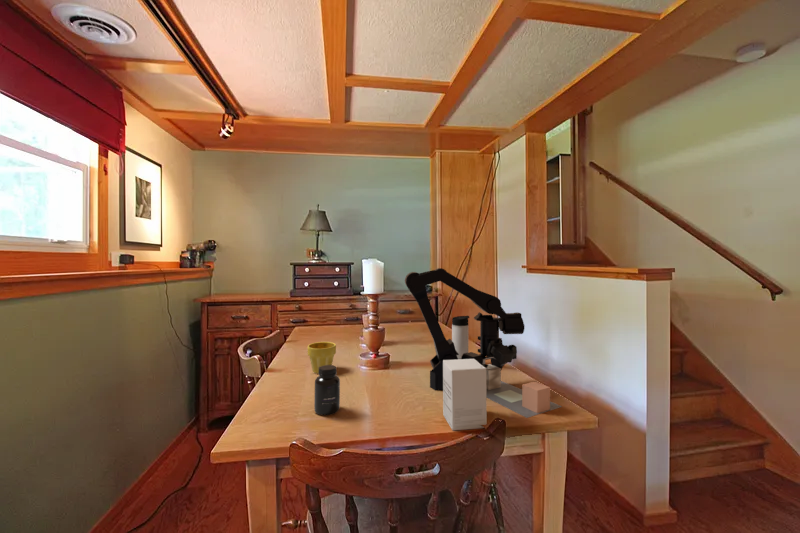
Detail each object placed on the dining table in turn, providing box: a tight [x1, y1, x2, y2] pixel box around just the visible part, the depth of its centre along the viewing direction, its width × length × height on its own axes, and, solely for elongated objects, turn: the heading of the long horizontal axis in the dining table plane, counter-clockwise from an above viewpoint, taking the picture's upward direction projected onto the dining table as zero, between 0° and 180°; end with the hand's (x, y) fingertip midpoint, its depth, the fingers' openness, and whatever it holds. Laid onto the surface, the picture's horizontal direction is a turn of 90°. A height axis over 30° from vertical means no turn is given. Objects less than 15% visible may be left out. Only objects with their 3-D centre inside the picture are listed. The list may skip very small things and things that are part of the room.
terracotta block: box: [521, 381, 551, 413], centre depth 93 cm, size 5×5×6 cm
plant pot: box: [307, 341, 337, 374], centre depth 127 cm, size 10×10×10 cm
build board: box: [486, 380, 563, 419], centre depth 101 cm, size 14×24×1 cm, turn 29°
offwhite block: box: [486, 363, 502, 390], centre depth 109 cm, size 5×5×6 cm
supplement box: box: [442, 359, 488, 431], centre depth 87 cm, size 9×9×15 cm
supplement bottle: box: [313, 364, 341, 416], centre depth 93 cm, size 7×7×12 cm
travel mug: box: [451, 315, 470, 359], centre depth 131 cm, size 6×7×20 cm
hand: (489, 382), depth 109 cm, fingers closed on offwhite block, 5 cm apart
